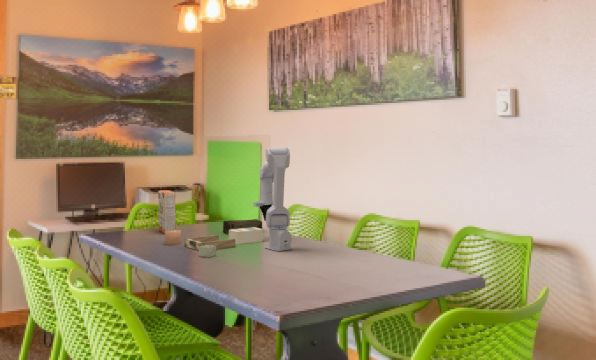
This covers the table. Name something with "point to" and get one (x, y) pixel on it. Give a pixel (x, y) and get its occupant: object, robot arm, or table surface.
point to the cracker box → (166, 210)
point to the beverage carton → (240, 224)
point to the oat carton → (246, 235)
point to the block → (173, 237)
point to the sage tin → (207, 251)
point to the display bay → (209, 242)
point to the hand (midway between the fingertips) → (266, 220)
